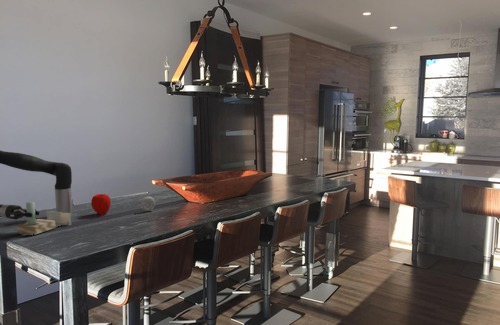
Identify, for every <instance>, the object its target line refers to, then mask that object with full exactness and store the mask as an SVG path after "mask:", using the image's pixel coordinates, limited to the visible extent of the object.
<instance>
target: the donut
mask: <svg viewBox="0 0 500 325" xmlns="http://www.w3.org/2000/svg"><path fill="white" fill-rule="evenodd" d="M148 202H149V205H147V203H148ZM155 206H156V201H155V198H153V197H152V196H149V195H148V196H145V197H143V198H142V199H141V202H140V208H141V210H142V211H144V212H151V211H152V210H154V208H155Z"/></svg>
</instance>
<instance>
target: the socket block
mask: <svg viewBox="0 0 500 325" xmlns="http://www.w3.org/2000/svg"><path fill="white" fill-rule="evenodd" d="M56 228H57V227H56V224H55V221H54V220H47V219H42V218H37V219H36V225H34V226H28V224H27V221H26V222H24V223H21V224H17V225H16V229H17V231H16V233H17V234H19V233H25V234H34V235H33V236H35V235H38V234H41V233H44V232H47V231H50V230H53V229H56Z"/></svg>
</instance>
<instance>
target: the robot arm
mask: <svg viewBox="0 0 500 325" xmlns="http://www.w3.org/2000/svg"><path fill="white" fill-rule="evenodd" d="M0 164H1V165H4V166H8V167H10V168H14V169H18V170H22V171H26V172H27V171H28V172H34V173H36V172H37V173H45V174H49V175H51V176H55V183H54V193H55V194H54V197H55V212H66V213H71V216H72V215H74V201H73V200H74V199H73V198H72V182H73V181H72V180H73V179H72V178H73V177H72V176H73V174H72V172H73V171H72V168H71V166H70V165H69V164H68V163H64V162H59V161H57V162H56V161H48V160H45V159H42V158H41V157H37V156H33V155H29V154H26V153H21V152H12V151H3V150H0ZM35 215H36V216H39V215H40V211H39V210H37V209H36V208H35ZM27 217H32V213H28V212H27V208H23V207H22V206H21V205H17V204H16V205H15V204H0V218H2V219H3V218H4V219H8V220H18V219H22V218H27Z"/></svg>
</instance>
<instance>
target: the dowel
mask: <svg viewBox="0 0 500 325" xmlns="http://www.w3.org/2000/svg"><path fill="white" fill-rule="evenodd" d="M25 206H26V208H25V209H27V212H28V213H32V217H26V220H27V221H26V222H27V224H28V226H34V225H36V220H37V219H36V216H37V215H35V209H36V202H35V201H27V202H26V205H25Z"/></svg>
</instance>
